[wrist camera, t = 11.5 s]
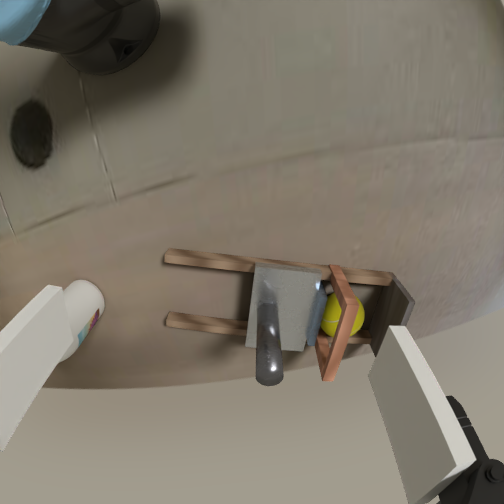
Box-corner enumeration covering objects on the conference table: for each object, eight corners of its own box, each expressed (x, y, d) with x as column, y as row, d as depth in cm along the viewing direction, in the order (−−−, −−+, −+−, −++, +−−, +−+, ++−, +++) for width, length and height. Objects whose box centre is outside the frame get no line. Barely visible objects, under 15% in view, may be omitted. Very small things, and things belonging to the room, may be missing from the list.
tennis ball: (306, 299, 48) (312, 325, 42) (344, 275, 47) (356, 298, 40) (328, 327, 51) (336, 354, 44) (364, 305, 49) (377, 330, 42)
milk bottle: (62, 283, 49) (-2, 351, 30) (92, 273, 48) (27, 346, 29) (82, 319, 52) (30, 393, 33) (113, 311, 50) (62, 392, 32)
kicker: (246, 331, 51) (241, 412, 35) (255, 255, 45) (253, 325, 30) (306, 336, 51) (320, 415, 35) (324, 262, 46) (352, 332, 30)
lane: (169, 318, 51) (151, 363, 40) (169, 246, 46) (144, 282, 35) (370, 336, 51) (390, 380, 41) (393, 271, 46) (422, 309, 36)
